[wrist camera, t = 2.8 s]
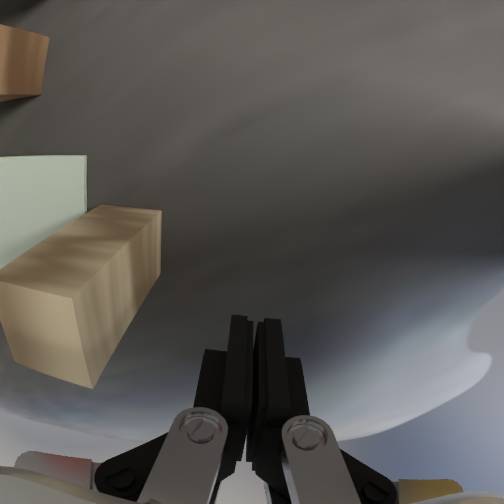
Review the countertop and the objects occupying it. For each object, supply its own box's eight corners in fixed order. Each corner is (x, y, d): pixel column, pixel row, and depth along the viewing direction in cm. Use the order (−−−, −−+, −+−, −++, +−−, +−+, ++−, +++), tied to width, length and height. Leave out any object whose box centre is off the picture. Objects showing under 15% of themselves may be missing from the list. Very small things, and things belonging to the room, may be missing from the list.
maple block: (161, 210, 18) (72, 298, 9) (160, 273, 19) (93, 389, 10) (100, 204, 18) (-12, 277, 8) (103, 264, 19) (15, 362, 10)
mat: (86, 155, 17) (84, 155, 16) (94, 302, 20) (93, 304, 20) (-24, 158, 16) (-26, 159, 16) (-9, 277, 20) (-11, 279, 20)
